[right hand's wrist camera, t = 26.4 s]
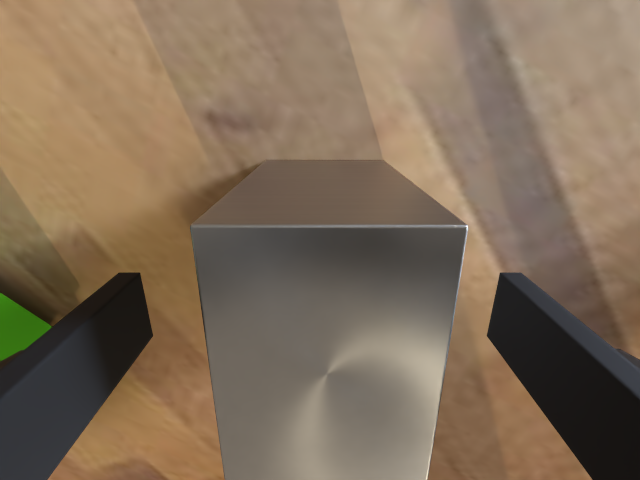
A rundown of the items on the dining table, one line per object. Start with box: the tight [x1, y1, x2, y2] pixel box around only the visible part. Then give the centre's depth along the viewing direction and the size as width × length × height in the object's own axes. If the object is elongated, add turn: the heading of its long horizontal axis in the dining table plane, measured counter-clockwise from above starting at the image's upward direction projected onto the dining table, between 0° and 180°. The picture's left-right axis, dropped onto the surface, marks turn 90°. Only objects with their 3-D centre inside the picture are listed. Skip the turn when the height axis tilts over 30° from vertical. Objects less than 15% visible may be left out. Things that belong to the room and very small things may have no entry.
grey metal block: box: [190, 160, 468, 480], centre depth 15 cm, size 6×9×12 cm
